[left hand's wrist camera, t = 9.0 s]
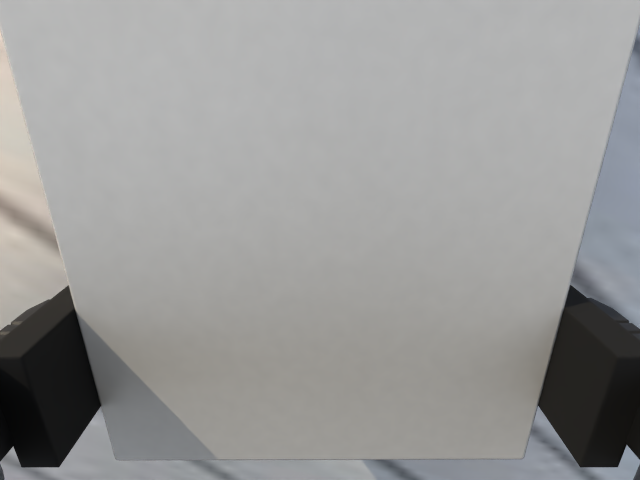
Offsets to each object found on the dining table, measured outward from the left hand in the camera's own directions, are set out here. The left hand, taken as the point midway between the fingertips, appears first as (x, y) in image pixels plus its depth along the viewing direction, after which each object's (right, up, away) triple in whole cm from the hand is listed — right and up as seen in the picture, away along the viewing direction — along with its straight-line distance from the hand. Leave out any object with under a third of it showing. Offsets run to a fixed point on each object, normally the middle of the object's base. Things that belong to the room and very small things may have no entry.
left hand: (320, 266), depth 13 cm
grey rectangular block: (0, +9, +3) cm, 9 cm away
